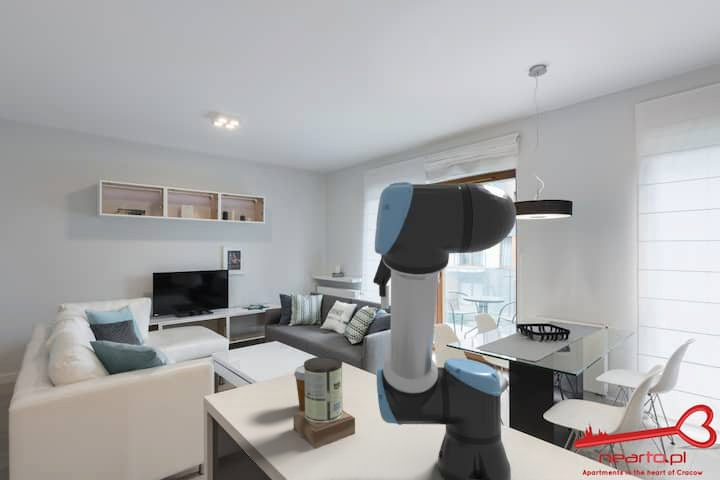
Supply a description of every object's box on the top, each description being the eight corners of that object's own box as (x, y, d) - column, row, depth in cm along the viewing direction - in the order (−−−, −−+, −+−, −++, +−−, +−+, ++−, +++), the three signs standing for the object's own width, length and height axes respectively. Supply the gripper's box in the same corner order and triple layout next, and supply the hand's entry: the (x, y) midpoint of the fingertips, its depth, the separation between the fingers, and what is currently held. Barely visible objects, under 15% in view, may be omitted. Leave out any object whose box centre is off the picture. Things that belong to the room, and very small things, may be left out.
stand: (355, 433, 96) (354, 416, 96) (315, 448, 88) (315, 430, 89) (331, 416, 105) (330, 401, 105) (293, 429, 98) (293, 412, 98)
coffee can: (311, 405, 103) (311, 355, 103) (346, 407, 101) (346, 357, 101) (298, 422, 93) (298, 367, 93) (337, 425, 91) (336, 369, 91)
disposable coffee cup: (328, 401, 116) (327, 364, 116) (322, 415, 106) (321, 374, 106) (299, 400, 116) (298, 363, 117) (290, 414, 107) (290, 373, 107)
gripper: (420, 236, 119) (421, 300, 119) (360, 234, 104) (361, 308, 104) (438, 235, 114) (439, 302, 113) (377, 233, 98) (378, 311, 98)
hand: (401, 305), depth 108 cm, fingers open, 13 cm apart
